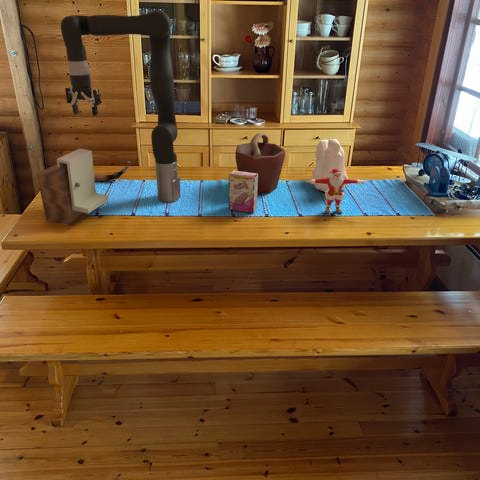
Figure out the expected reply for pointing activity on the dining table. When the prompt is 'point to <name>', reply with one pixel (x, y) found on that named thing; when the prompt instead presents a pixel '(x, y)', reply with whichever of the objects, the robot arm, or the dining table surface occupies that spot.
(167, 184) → the robot arm
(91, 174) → the white angled bracket
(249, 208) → the candy bar box
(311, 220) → the dining table surface
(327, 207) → the santa figurine
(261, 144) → the bucket
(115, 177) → the drinking horn
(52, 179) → the cabinet
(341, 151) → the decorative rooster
